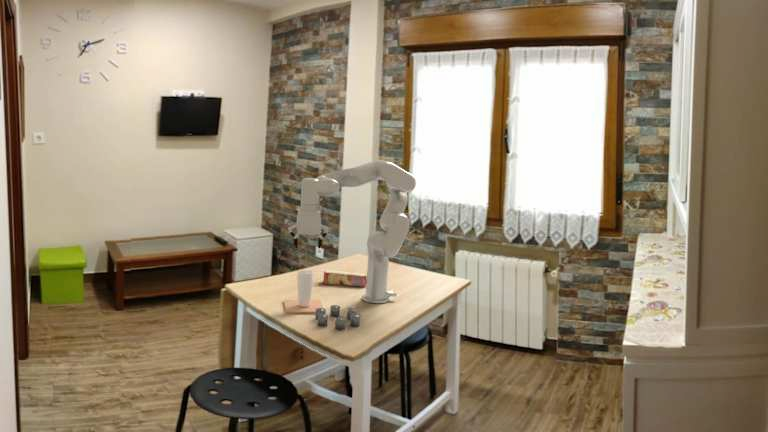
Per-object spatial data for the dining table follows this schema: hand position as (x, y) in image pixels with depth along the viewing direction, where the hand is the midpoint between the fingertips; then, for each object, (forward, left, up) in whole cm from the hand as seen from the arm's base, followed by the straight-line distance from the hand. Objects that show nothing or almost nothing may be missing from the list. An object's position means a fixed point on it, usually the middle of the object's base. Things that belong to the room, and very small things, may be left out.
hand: (307, 247), depth 255 cm
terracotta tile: (0, +1, -26) cm, 26 cm away
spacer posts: (-12, +19, -26) cm, 34 cm away
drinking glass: (0, +1, -26) cm, 26 cm away
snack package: (-23, -36, -27) cm, 51 cm away
